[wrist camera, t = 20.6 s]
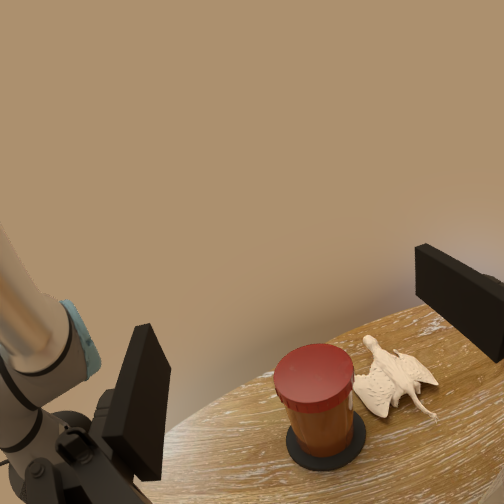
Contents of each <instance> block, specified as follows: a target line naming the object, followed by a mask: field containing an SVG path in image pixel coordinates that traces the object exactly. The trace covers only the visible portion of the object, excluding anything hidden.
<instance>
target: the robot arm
mask: <svg viewBox="0 0 504 504" xmlns="http://www.w3.org/2000/svg"><path fill="white" fill-rule="evenodd" d="M415 270H416V271H415V272H416V296H418V297H419V298H420V299H422V300H423V301H424V302H425V303H426V304H427V305H429V306H430V307H431V308H432V309H433V310H435V311H436V312H437V313H438V314H440V315H441V316H442V317H443V318H444V319H446V320H447V321H448V322H449V323H450V324H451V325H453V326H454V327H455V328H456V329H457V330H458V331H460V332H461V333H462V334H463V335H464V336H465V337H467V338H468V339H469V340H470V341H471V342H472V343H473V344H475V345H476V346H477V347H478V348H479V349H480V350H481V351H482V352H484V353H485V354H486V355H487V356H488V357H489V358H490V359H491V360H492V361H494V362H495V363H498V362H499V361H501V360H502V359H504V283H503V282H502V283H501V281H499V280H498V279H496V278H495V277H493V276H489V275H485V274H481V273H479V272H477V271H476V270H474V269H472V268H470V267H469V266H467V265H465V264H463V263H462V262H460V261H458V260H456V259H454V258H452V257H451V256H449V255H447V254H445V253H444V252H442V251H440V250H438V249H436V248H434V247H432V246H431V245H429V244H426V243H425V244H423V245H420V246H417V247H415ZM100 367H101V358H100V356H99V353H98V351H97V349H96V347H95V345H94V343H93V341H92V340H91V337H90V335H89V333H88V330H87V328H86V326H85V324H84V322H83V321H82V319H81V317H80V315H79V313H78V311H77V309H76V307H75V306H74V304H73V303H72V302H71V301H70V300H64V301H58V300H57V299H55V298H54V297H52V296H50V295H48V294H44V293H41V292H40V291H39V289H38V288H37V286H36V285H35V283H34V282H33V280H32V278H31V277H30V275H29V273H28V272H27V270H26V269H25V267H24V265H23V263H22V262H21V260H20V258H19V257H18V255H17V253H16V251H15V250H14V248H13V246H12V244H11V242H10V240H9V238H8V237H7V235H6V233H5V231H4V229H3V227H2V225H1V223H0V449H1V450H2V451H3V452H4V454H5V455H6V457H7V458H8V459H7V460H4V461H2V462H0V466H2V465H4V464H7V463H11V464H12V466H13V467H14V469H15V470H16V472H17V473H18V475H19V476H20V477H21V478H22V479H23V480H24V481H25V488H26V498H27V504H152V502H151V501H150V500H149V499H148V498H147V497H146V496H145V495H144V494H143V493H142V492H141V491H140V489H139V488H138V487H137V486H136V485H135V484H134V483H133V478H134V474H135V475H136V476H137V477H138V478H139V479H140V480H141V481H142V482H144V481H160V480H161V474H162V459H163V445H164V433H165V421H166V411H167V402H168V392H169V383H170V375H171V374H170V373H171V367H170V365H169V363H168V361H167V359H166V357H165V355H164V353H163V350H162V348H161V346H160V344H159V342H158V340H157V337H156V335H155V333H154V331H153V329H152V326H151V324H150V323H148V324H144V325H139V326H135V328H134V331H133V334H132V337H131V340H130V343H129V346H128V349H127V352H126V355H125V358H124V361H123V364H122V367H121V370H120V374H119V377H118V380H117V383H116V387H115V389H108V390H106V391H105V392H104V393H103V395H102V396H101V397H100V399H99V401H98V404H97V407H96V409H97V410H95V413H94V418H93V420H92V423H91V426H90V429H89V433H87V432H86V431H85V430H84V429H83V428H80V427H71V426H70V425H68V424H67V423H66V422H64V421H63V420H61V419H59V418H57V417H56V416H54V415H52V414H50V413H48V412H46V411H45V410H43V409H42V408H41V407H42V406H44V405H45V404H47V403H48V402H50V401H52V400H53V399H55V398H57V397H58V396H60V395H62V394H63V393H65V392H67V391H68V390H70V389H71V388H73V387H75V386H76V385H78V384H79V383H81V382H83V381H87V380H88V379H89V377H90V376H92V375H93V374H94V373H96V372H97V371H98V370H99V369H100Z"/></svg>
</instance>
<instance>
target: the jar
mask: <svg viewBox="0 0 504 504" xmlns="http://www.w3.org/2000/svg"><path fill="white" fill-rule="evenodd" d="M285 408H286V411H287V414H288V417H289V420H290V423H291V426H292V429H293V432H294V435H295V438H296V441H297V444H298V446H299V447H300V448H301V450H302V451H304V452H305V453H307V454H308V455H311V456H314V457H329V456H333V455H336V454H338V453H340V452H341V451H343V450H344V449H345V448H346V447H347V446H348V445H349V444H350V443H351V441H352V439H353V436H354V414H353V397H352V390H351V392H350V394H349V395H348V397H347V398H346V399H345V400H344V401H343V402H342V403H340V405H338V406H336V407H334V408H332V409H330V410H327V411H325V412H321V413H314V414H307V413H300V412H297V411H294V410H292V409H290V408H288V407H287V406H285Z"/></svg>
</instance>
